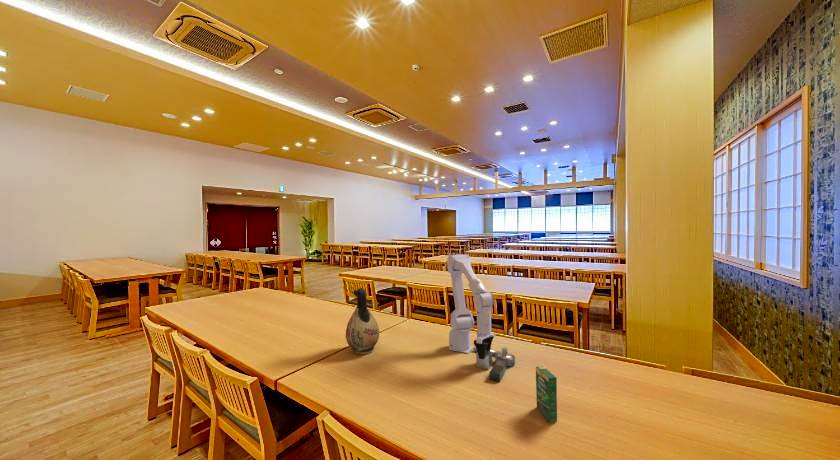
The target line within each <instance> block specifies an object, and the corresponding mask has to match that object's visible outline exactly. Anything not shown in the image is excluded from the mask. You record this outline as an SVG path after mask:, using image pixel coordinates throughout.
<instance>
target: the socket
mask: <svg viewBox="0 0 840 460" xmlns="http://www.w3.org/2000/svg"><path fill="white" fill-rule="evenodd" d="M492 351H493V350H492ZM492 351H488V350H486V353H485V359H479V356H478V352H476V353H475V354H476V355H475V357H476V358H475V359H476V360H475V363H476V365H475V366H476V368H479V369H483V370H489V371H490V369H491V367H493V355H492Z"/></svg>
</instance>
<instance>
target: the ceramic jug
mask: <svg viewBox="0 0 840 460" xmlns="http://www.w3.org/2000/svg"><path fill="white" fill-rule="evenodd" d="M353 296H355V297H356V300H357V303H356V307H355V309H354V311H353V313H352V314H351V317H350V318H349V320H348V322H347V325H346V329H345V340H346V343H347V345H348V346H349V347H350V348H351V349H352V350H353V352H354V354H356V355H368V354H369V353H372V352H374V349H375V346H376V344H377V343H378V341H379V338H380V327H379V324H378V322H377V320H376V318H375V316H374V315H373V314H372V312H370V310H369V309H368V308H367V307H368V306H367V303H368V302H367V300H368V299H367V293H366V291H365V288H363V287H358V288H357V289H354V290H353Z"/></svg>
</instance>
